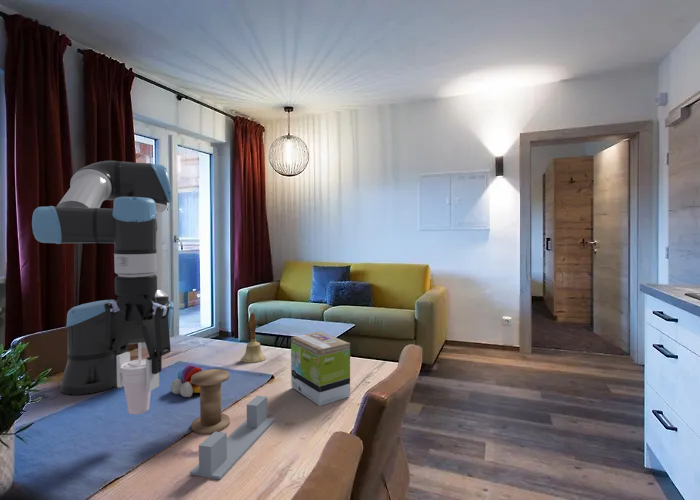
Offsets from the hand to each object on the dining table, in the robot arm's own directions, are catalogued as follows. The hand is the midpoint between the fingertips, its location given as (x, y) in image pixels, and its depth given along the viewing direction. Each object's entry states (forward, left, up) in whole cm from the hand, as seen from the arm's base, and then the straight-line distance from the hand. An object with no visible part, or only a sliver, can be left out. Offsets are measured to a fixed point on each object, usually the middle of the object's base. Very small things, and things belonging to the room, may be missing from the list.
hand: (138, 386), depth 80 cm
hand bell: (-3, +54, -12) cm, 56 cm away
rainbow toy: (-6, +25, -12) cm, 28 cm away
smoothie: (0, 0, -5) cm, 5 cm away
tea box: (+28, +32, -12) cm, 45 cm away
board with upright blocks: (+20, +3, -11) cm, 24 cm away
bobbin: (+10, +9, -11) cm, 18 cm away
